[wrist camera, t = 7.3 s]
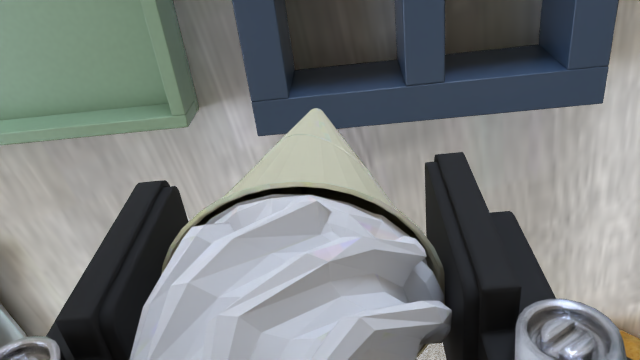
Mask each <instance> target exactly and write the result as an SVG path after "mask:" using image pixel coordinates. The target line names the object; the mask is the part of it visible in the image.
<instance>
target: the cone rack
mask: <svg viewBox="0 0 640 360" xmlns="http://www.w3.org/2000/svg"><path fill="white" fill-rule="evenodd" d="M618 1H619V0H542V11H541V23H540V34H539V45H532V46H522V47H513V48H503V49H494V50H484V51H475V52H465V53H456V54H446V55H445V0H394V3H395V24H396V45H397V59H398V60H389V61H380V62H370V63H360V64H351V65H341V66H332V67H322V68H313V69H303V70H295V68H294V61H293V54H292V47H291V40H290V34H289V27H288V20H287V13H286V6H285V0H232V3H233V9H234V14H235V19H236V24H237V29H238V35H239V40H240V45H241V50H242V55H243V61H244V66H245V71H246V76H247V81H248V86H249V92H250V97H251V101H252V108H253V113H254V118H255V123H256V128H257V134H258V136H266V135H276V134H287V133H288V132H289V131H290V130H291V129H292V128H293V127H294V126H295V125H296V124H297V123H298V122H299V121H300V120H301V119H302V118H303V117H304V116H305V115H306V114H307V113H308V112H309V111H310V110H312V109H314V108H318V109H321V110H322V111H323V112H324V114H325V115H326V116H327V118H328V119H329V120H330V122H331V123H332V124H333V125H334V127H335V128H336V129H339V128H350V127H360V126H371V125H381V124H392V123H402V122H413V121H423V120H434V119H444V118H455V117H465V116H476V115H486V114H496V113H507V112H517V111H528V110H538V109H549V108H559V107H570V106H580V105H591V104H601V103H603V99H604V93H605V86H606V80H607V73H608V65H609V60H610V53H611V47H612V40H613V34H614V27H615V21H616V14H617V8H618Z"/></svg>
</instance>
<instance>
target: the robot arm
mask: <svg viewBox="0 0 640 360" xmlns="http://www.w3.org/2000/svg"><path fill="white" fill-rule="evenodd" d="M425 193H426V233H427V239H428V240H429V241H430V243H431V244H432V245H433V246H434V248H435V250H436V252H437V255H438V257H439V259H440V261H441V263H442V265H443V269H444V278H445V305H446V306H447V307H448V308H450V309H451V310H452V319H451V331H450V332H449V333H448V335H447V336H446V338H445V339H444V340H443V345H444V350H445V354H446V359H447V360H633V359H631V358H629V357H627V356H626V352H625V346H624V341H623V339H622V336H621V334H620V331H619V329H618V328H617V327H616V326H615V324H614V323H613V322H612V321H611V320H610V319H609V318H608V317H607V316H605V315H604V314H603V313H601V312H600V311H598V310H597V309H595V308H593V307H590V306H588V305H586V304H583V303H581V302H576V301H572V300H567V299H556V298H555V296H554V294H553V292H552V290H551V288H550V286H549V284H548V282H547V280H546V278H545V276H544V274H543V272H542V270H541V268H540V266H539V264H538V262H537V260H536V258H535V256H534V254H533V252H532V250H531V248H530V246H529V244H528V242H527V240H526V238H525V236H524V234H523V232H522V230H521V228H520V226H519V224H518V222H517V220H516V218H515V216H514V214H513V213H512V212H510V211H505V212H493V213H489V210H488V208H487V206H486V203H485V201H484V199H483V196H482V194H481V192H480V190H479V187H478V185H477V183H476V180H475V178H474V176H473V173H472V171H471V169H470V166H469V164H468V162H467V160H466V157H465V155H464V153H463V152H459V153H448V154H438V155H435V158H434V162H427V163H425ZM187 223H188V219H187V216H186V212H185V209H184V206H183V203H182V199H181V196H180V193H179V190H178V188H177V187H176V186H171V187H170V185H169V184H168V182H167V181H165V180H164V181H153V182H143V183H138V184H137V185H136V187H135V188H134V190H133V192H132V193H131V195H130V197H129V198H128V200H127V202H126V203H125V205H124V207H123V208H122V210H121V212H120V213H119V215H118V217H117V218H116V220H115V222H114V223H113V225H112V227H111V228H110V230H109V232H108V233H107V235H106V237H105V238H104V240H103V242H102V243H101V245H100V247H99V248H98V250H97V252H96V253H95V255H94V257H93V258H92V260H91V262H90V263H89V265H88V267H87V268H86V270H85V272H84V273H83V275H82V277H81V278H80V280H79V282H78V283H77V285H76V287H75V288H74V290H73V292H72V293H71V295H70V297H69V298H68V300H67V302H66V303H65V305H64V307H63V308H62V310H61V312H60V313H59V315H58V317H57V318H56V320H55V322H54V324H53V326H52V327H51V329H50V331H49V332H48V334H47V336H46V337H43V336H32V337H26V338H21V339H18V340H16V341H13V342H10V343H8V344H6V345H4V346H2V347H1V348H0V360H130V356H131V352H132V348H133V344H134V340H135V336H136V332H137V328H138V324H139V320H140V316H141V312H142V308H143V306H144V304H145V303H146V301H147V299H148V297H149V296H150V294H151V292H152V290H153V289H154V287H155V285H156V284H157V282H158V280H159V278H160V277H161V274H162V266H163V263H164V260H165V258H166V255H167V252H168V250H169V247H170V245H171V244H172V242H173V241H174V239H175V238H176V237H177V235H178V234H179V232H180V231H181V229H182V228H183V227H184V226H185V225H186V224H187Z"/></svg>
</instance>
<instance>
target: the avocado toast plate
mask: <svg viewBox="0 0 640 360" xmlns="http://www.w3.org/2000/svg"><path fill="white" fill-rule="evenodd" d="M26 337H27V336H26V334H25V333H24V331H23V330H22V329H21V328H20V326H19V325H18V324H17V323H16V322H15V320H14V319H13V318H12V317H11V316H10V315H9V313H8V312H7V311H6V309H5V308H4V307H3V305H2V304H1V303H0V348H1V347H2V346H4V345H6V344H8V343H10V342H13V341H16V340H18V339H21V338H26Z"/></svg>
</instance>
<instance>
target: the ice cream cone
mask: <svg viewBox="0 0 640 360" xmlns="http://www.w3.org/2000/svg"><path fill="white" fill-rule="evenodd" d="M451 319H452V310H451V309H450V308H448V307H447V306H446V305H445V278H444V269H443V265H442V263H441V261H440V259H439V257H438V255H437V252H436V250H435V248H434V246H433V245H432V244H431V243H430V241H429V240H428V239H427V237H426V236H425V235H424V233H423V232H422V231H421V230H420V228H419V227H418V226H416V225H415V224H414V223H413V222H412V221H411V220H410V219H408V218H407V217H406V216H405V215H404V214H403V213H402V212H400V211H399V210H397V209H396V208H395V207H394V205H393V204H392V203H391V201H390V200H389V199H388V197H387V196H386V195H385V193H384V192H383V190H382V189H381V187H380V186H379V184H378V183H377V182H376V180H375V179H374V178H373V177H372V175H371V174H370V172H369V171H368V170H367V169H366V167H365V166H364V165H363V163H362V162H361V161H360V160H359V158H358V157H357V156H356V154H355V153H354V152H353V150H352V149H351V148H350V146H349V145H348V144H347V142H346V141H345V140H344V139H343V137H342V136H341V135H340V133H339V132H338V131H337V129H336V128H335V127H334V125H333V124H332V123H331V122H330V120H329V119H328V118H327V116H326V115H325V114H324V112H323V111H322V110H321V109H318V108H314V109H312V110H310V111H309V112H308V113H307V114H306V115H305V116H304V117H303V118H302V119H301V120H300V121H299V122H298V123H297V124H296V125H295V126H294V127H293V128H292V129H291V130H290V131H289V132H288V133H287V134H286V135H285V136H284V137H283V138H282V139H281V140H280V141H279V142H278V143H277V144H276V145H275V146H274V147H273V148H272V149H271V150H270V151H269V152H268V153H267V154H266V155H265V156H264V157H263V158H262V160H261V161H260V162H259V163H258V164H257V165H256V166H255V167H254V168H253V169H252V170H251V171H250V172H249V173H248V174H247V175H246V176H245V177H244V178H243V179H242V180H240V181H239V182H238V183H237V184H236V185H235V186H234V187H233V188H232V189H231V190H230V191H229V192H228V193H227V194H226V195H225V196H224V197H223V198H221V199H219V200H217V201H216V202H214V203H213V204H211V205H210V206H208V207H206V208H205V209H203V210H202V211H200V212H199V213H198V214H197V215H196V216H195V217H194V218H193V219H192V220H190V221H189V222H188V223H187V224H186V225H185V226H184V227H183V228H182V229H181V231H180V232H179V234H178V235H177V237H176V238H175V239H174V241H173V242H172V244H171V245H170V247H169V250H168V252H167V255H166V258H165V260H164V263H163V266H162V274H161V277H160V278H159V280H158V282H157V284H156V285H155V287H154V289H153V290H152V292H151V294H150V296H149V297H148V299H147V301H146V303H145V304H144V306H143V308H142V312H141V316H140V320H139V324H138V328H137V332H136V336H135V340H134V344H133V348H132V352H131V356H130V360H416V358H417V357H418V356H419V355H420V354H421V353H422V352H423V351H424V349H425V348H426V347H427V346H428V344H433V343H442V342H443V340H444V339H445V338H446V336H447V335H448V333H449V332H450V331H451Z"/></svg>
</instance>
